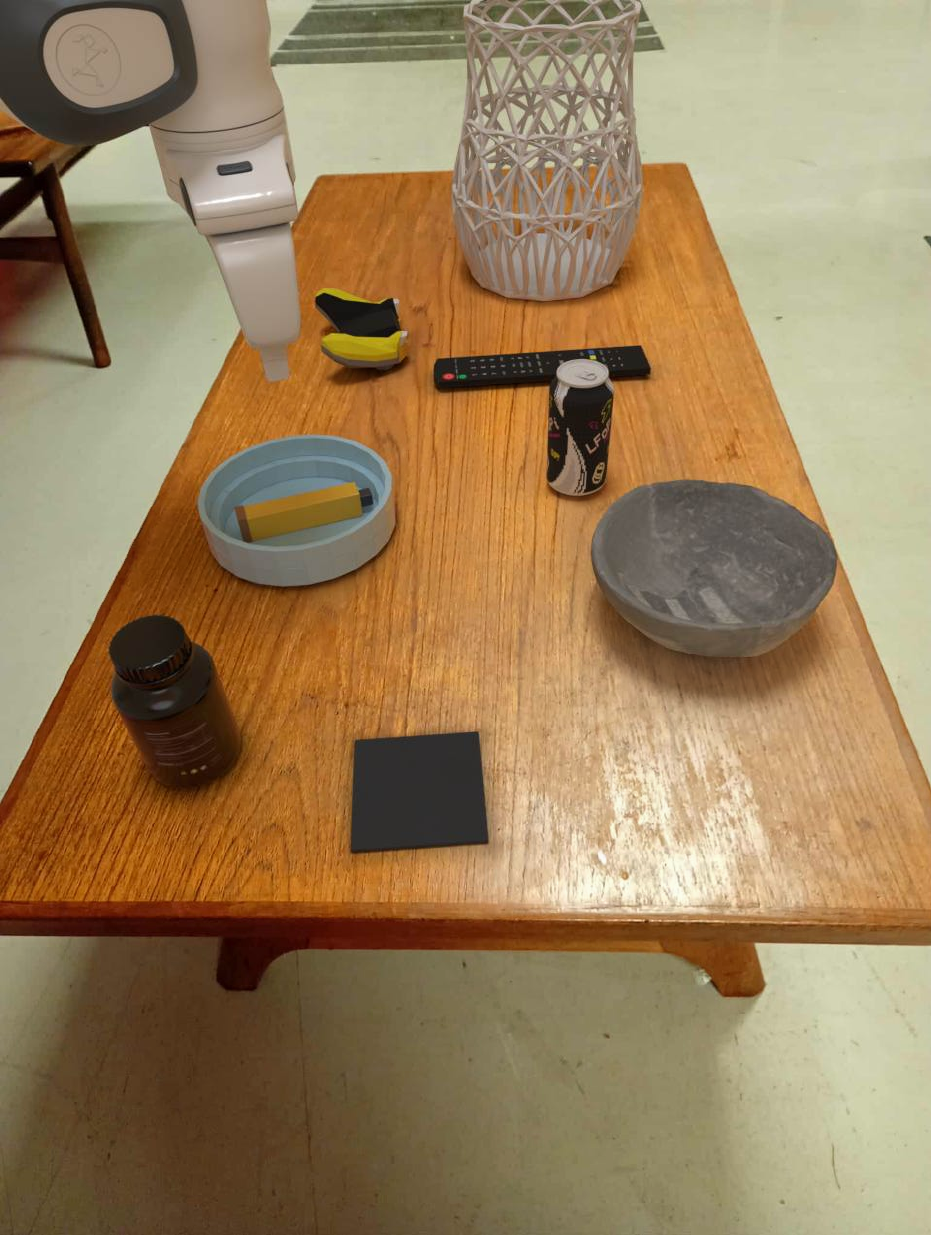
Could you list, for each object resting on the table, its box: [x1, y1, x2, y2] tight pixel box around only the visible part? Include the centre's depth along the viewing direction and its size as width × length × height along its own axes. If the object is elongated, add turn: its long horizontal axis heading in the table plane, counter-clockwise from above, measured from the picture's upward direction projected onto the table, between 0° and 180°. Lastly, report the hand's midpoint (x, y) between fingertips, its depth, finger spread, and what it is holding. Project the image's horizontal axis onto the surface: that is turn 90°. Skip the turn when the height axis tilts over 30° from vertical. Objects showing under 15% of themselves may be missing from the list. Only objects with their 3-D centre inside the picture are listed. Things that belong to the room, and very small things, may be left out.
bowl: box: [590, 478, 838, 658], centre depth 70 cm, size 18×18×8 cm
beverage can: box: [545, 359, 615, 497], centre depth 81 cm, size 6×6×12 cm
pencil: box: [235, 482, 373, 543], centre depth 81 cm, size 12×2×3 cm, turn 108°
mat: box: [350, 730, 489, 854], centre depth 61 cm, size 9×9×1 cm
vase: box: [451, 0, 643, 302], centre depth 110 cm, size 24×24×30 cm
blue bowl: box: [196, 434, 397, 587], centre depth 81 cm, size 17×17×4 cm
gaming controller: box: [314, 287, 410, 371], centre depth 104 cm, size 15×6×10 cm
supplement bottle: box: [108, 614, 242, 790], centre depth 60 cm, size 7×7×12 cm
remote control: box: [432, 344, 652, 389], centre depth 100 cm, size 5×24×1 cm, turn 94°
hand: (267, 348), depth 70 cm, fingers open, 8 cm apart
